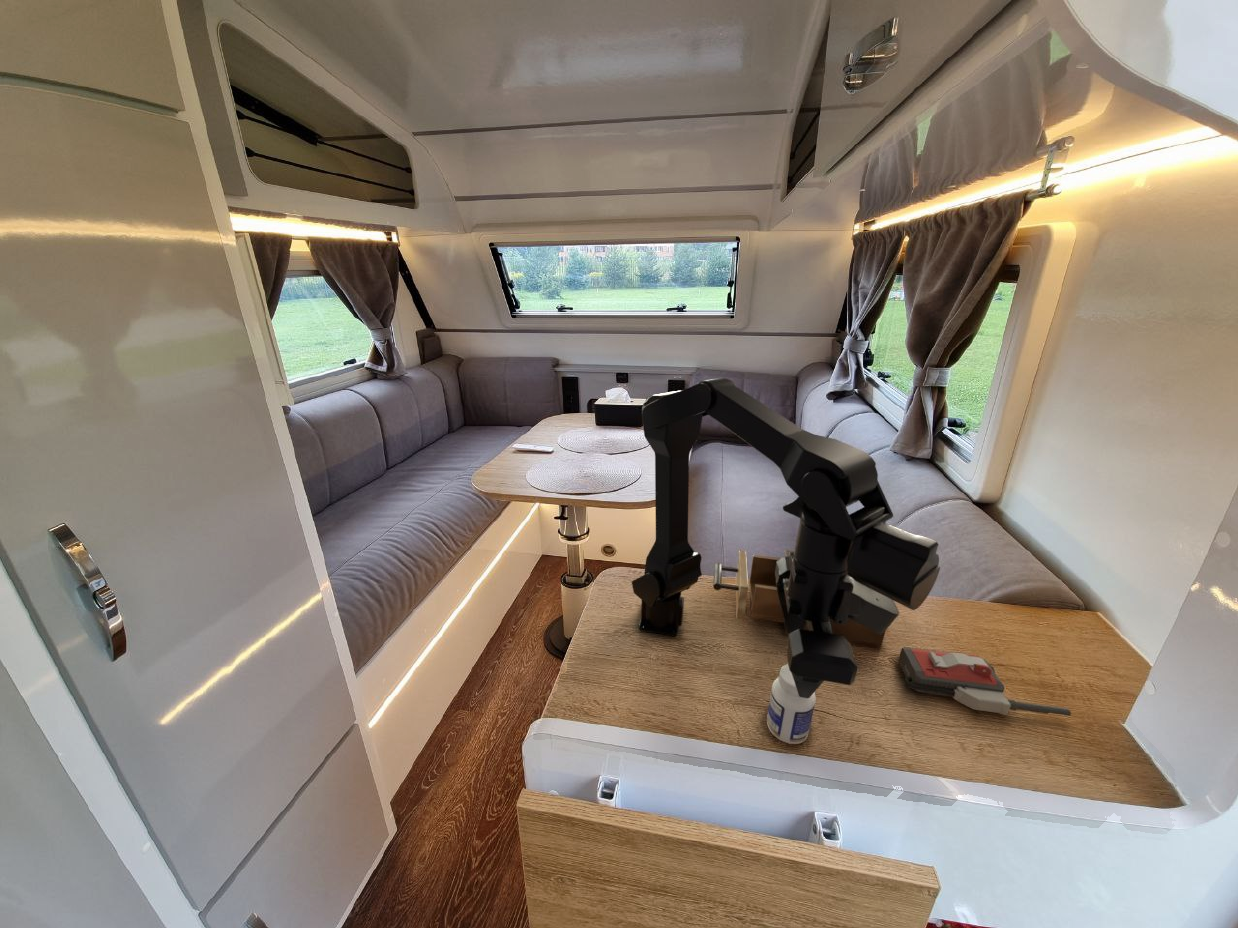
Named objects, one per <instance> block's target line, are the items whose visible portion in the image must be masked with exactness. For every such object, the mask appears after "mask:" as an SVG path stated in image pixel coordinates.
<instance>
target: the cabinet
mask: <svg viewBox="0 0 1238 928" xmlns="http://www.w3.org/2000/svg"><path fill="white" fill-rule="evenodd" d="M794 551H795V550H792V549H784V554H783V557H784V556H787V557H789V556H790V552H794ZM829 622H830V625H831V629H832V632H833V634H836V635H843V636H844V637H845V639H846V640H847V641H848V642H849V643H850V645H855V646H862V647H868V648H874V649H879V650H880V649H881V648H882V645H883V641H884V639H885V634H886V631H887V629H886V630H885V631H884V633H883V634H877V633H875V632H873V630H872V629H870V628H868V627H866V626H863V625H861V624H859V623H857V622H855V621H853V620H851V619H849V618H848V619H847V623H846V625H844V624H837V623H834V621H833V620H829ZM783 626H784V633H785V635H788V631H787V627H786V624H785V623H784V622H783ZM804 630H808V626H807V623H806V625H805V628H804Z"/></svg>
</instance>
